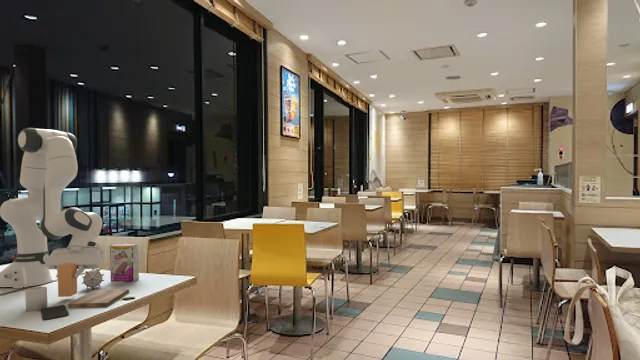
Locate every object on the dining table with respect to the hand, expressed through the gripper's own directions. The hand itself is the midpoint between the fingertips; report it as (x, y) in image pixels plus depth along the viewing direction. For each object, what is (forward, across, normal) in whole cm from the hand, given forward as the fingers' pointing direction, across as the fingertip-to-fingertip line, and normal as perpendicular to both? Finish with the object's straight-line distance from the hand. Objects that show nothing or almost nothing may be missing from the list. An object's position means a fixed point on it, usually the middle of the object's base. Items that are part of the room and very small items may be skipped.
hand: (66, 277), depth 157 cm
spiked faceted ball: (-5, +2, +18) cm, 19 cm away
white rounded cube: (+14, -4, -1) cm, 14 cm away
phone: (+17, +5, -5) cm, 19 cm away
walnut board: (+7, +14, +5) cm, 16 cm away
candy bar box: (-14, +10, +26) cm, 31 cm away
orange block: (+4, 0, +5) cm, 7 cm away
